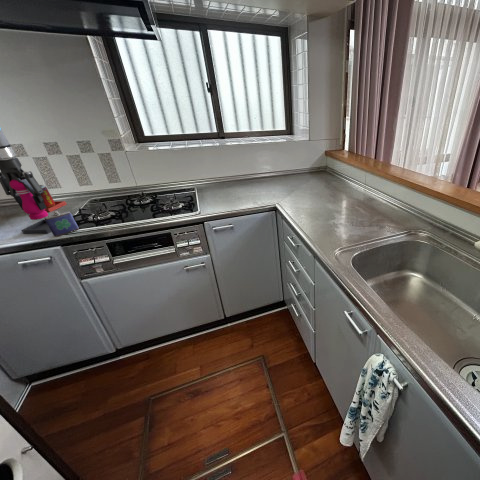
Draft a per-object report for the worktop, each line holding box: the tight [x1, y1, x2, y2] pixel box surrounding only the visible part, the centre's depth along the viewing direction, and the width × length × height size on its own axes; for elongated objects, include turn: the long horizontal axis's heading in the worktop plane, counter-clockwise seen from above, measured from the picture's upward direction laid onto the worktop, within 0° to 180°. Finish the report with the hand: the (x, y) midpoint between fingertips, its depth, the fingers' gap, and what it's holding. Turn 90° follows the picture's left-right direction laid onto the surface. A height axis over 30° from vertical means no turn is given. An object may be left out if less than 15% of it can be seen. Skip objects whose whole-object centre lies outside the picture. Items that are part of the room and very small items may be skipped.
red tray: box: [45, 200, 67, 213], centre depth 148 cm, size 11×11×2 cm
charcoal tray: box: [21, 219, 52, 235], centre depth 127 cm, size 11×11×2 cm
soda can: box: [35, 184, 55, 209], centre depth 145 cm, size 7×7×12 cm
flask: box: [43, 210, 80, 238], centre depth 121 cm, size 9×3×11 cm, turn 144°
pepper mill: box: [10, 179, 49, 221], centre depth 120 cm, size 7×7×20 cm
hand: (34, 209), depth 123 cm, fingers closed on pepper mill, 7 cm apart
